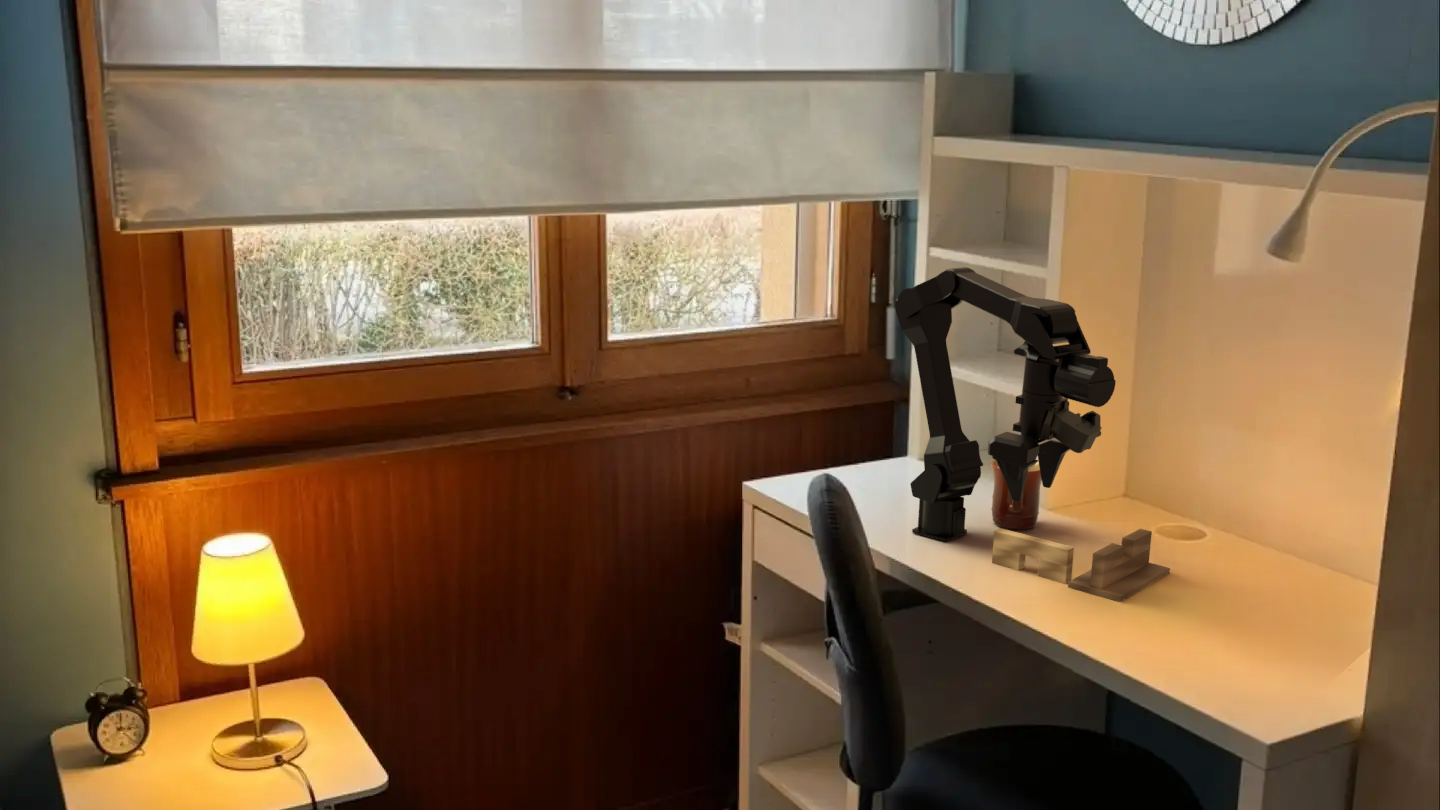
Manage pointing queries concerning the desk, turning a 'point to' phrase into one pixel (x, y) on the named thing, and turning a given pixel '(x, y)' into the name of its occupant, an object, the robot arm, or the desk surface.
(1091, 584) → the joint base
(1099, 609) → the desk surface
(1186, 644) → the desk surface
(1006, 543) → the oak plate
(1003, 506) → the mug
